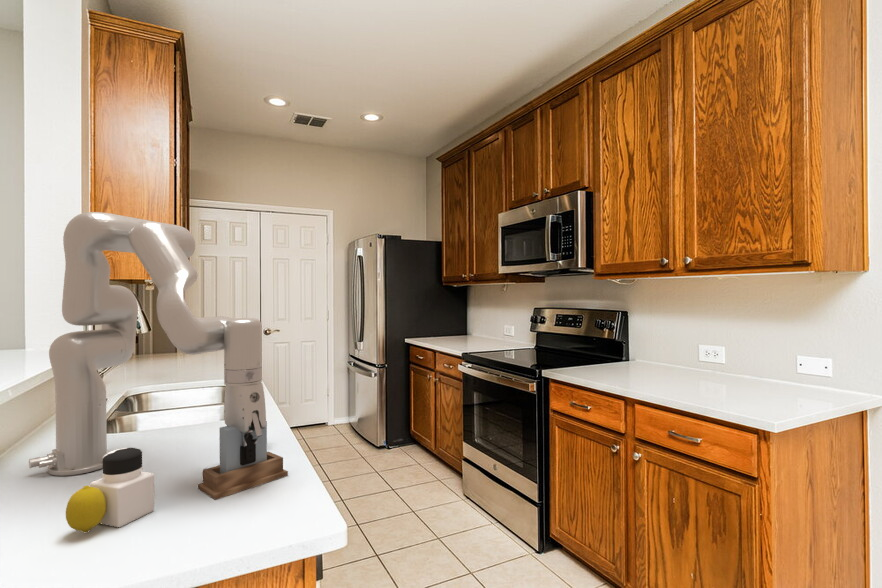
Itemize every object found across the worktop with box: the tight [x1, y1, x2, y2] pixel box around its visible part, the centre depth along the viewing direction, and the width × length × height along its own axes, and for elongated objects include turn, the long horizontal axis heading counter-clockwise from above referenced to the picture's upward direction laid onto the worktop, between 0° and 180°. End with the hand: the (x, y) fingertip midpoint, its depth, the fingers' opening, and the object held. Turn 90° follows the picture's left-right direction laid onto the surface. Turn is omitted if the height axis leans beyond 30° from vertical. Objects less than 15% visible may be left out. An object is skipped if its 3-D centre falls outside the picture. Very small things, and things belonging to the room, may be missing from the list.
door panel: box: [219, 420, 268, 474], centre depth 103 cm, size 9×3×10 cm, turn 140°
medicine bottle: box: [89, 447, 155, 528], centre depth 88 cm, size 7×7×12 cm
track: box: [197, 451, 289, 501], centre depth 103 cm, size 16×8×4 cm, turn 140°
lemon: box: [65, 485, 106, 533], centre depth 82 cm, size 6×6×8 cm
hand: (243, 460), depth 103 cm, fingers closed on door panel, 3 cm apart
